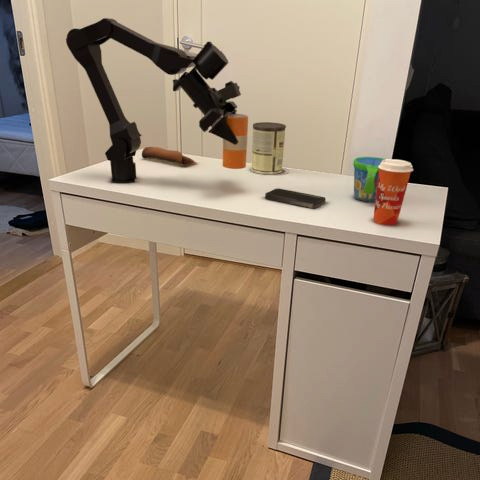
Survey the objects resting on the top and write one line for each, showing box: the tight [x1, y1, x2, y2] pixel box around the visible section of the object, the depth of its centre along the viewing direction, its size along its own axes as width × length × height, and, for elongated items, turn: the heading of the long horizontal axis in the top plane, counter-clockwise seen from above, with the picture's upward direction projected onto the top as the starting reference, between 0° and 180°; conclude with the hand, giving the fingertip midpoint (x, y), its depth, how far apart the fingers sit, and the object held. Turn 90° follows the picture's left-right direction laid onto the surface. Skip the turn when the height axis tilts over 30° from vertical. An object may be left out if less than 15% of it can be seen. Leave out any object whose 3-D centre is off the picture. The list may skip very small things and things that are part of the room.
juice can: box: [222, 113, 249, 170], centre depth 130 cm, size 6×6×13 cm
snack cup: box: [352, 156, 387, 203], centre depth 132 cm, size 16×10×10 cm
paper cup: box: [372, 158, 414, 226], centre depth 114 cm, size 8×8×14 cm
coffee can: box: [250, 121, 287, 175], centre depth 155 cm, size 10×10×14 cm
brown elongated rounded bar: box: [141, 146, 197, 168], centre depth 164 cm, size 18×7×7 cm, turn 57°
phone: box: [264, 188, 326, 209], centre depth 130 cm, size 8×1×15 cm
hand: (240, 141), depth 129 cm, fingers closed on juice can, 6 cm apart
